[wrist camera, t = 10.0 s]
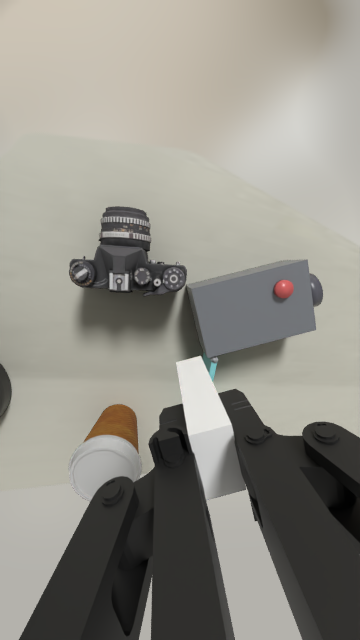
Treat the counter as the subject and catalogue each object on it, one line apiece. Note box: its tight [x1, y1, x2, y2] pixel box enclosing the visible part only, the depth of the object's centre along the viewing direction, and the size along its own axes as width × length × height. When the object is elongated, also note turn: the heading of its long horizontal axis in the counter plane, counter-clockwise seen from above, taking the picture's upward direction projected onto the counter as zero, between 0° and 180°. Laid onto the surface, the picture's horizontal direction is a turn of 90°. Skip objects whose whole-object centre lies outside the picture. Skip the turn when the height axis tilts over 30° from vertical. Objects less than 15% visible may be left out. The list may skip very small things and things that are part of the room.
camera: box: [69, 207, 187, 296], centre depth 34 cm, size 14×11×10 cm
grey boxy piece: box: [186, 260, 323, 358], centre depth 38 cm, size 18×10×8 cm, turn 104°
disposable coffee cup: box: [69, 404, 142, 502], centre depth 38 cm, size 10×10×12 cm
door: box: [202, 352, 218, 382], centre depth 40 cm, size 12×2×6 cm, turn 170°
